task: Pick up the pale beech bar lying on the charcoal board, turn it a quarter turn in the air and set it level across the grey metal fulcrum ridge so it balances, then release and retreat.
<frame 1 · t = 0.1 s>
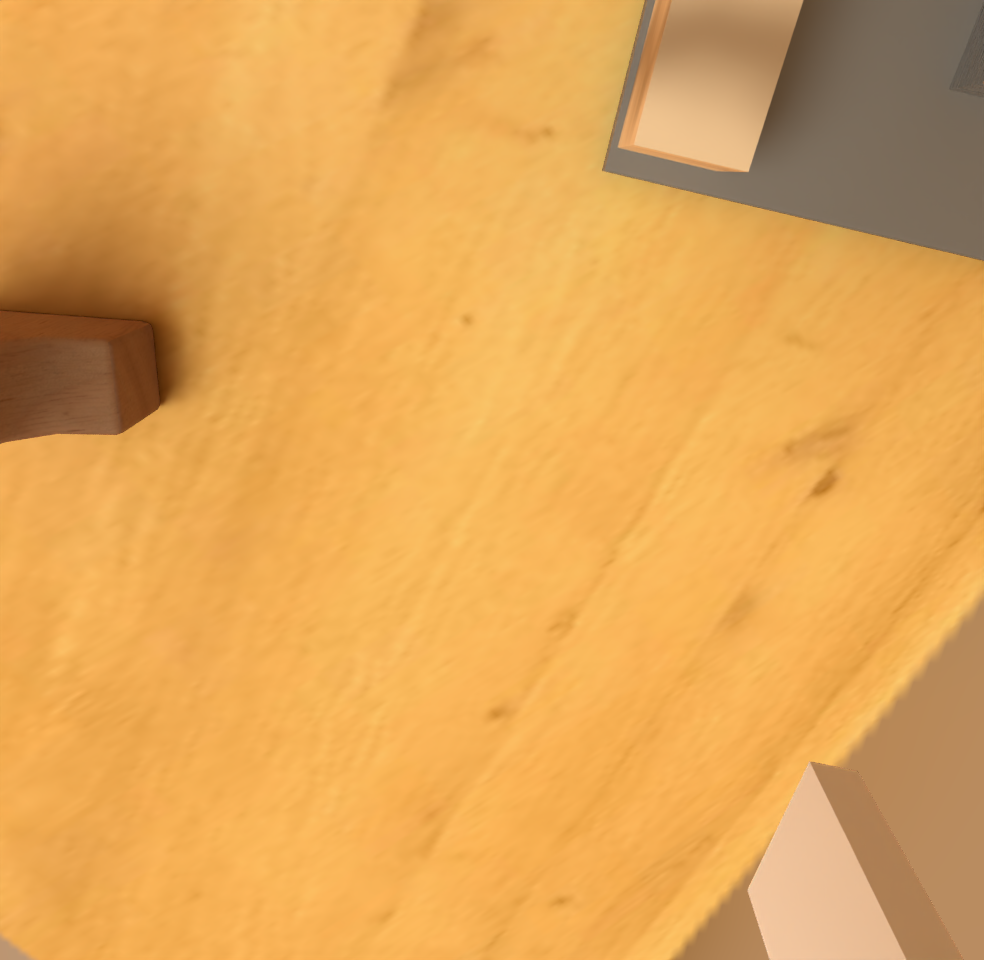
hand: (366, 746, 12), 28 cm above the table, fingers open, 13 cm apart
wooden block: (72, 357, 38), on the table
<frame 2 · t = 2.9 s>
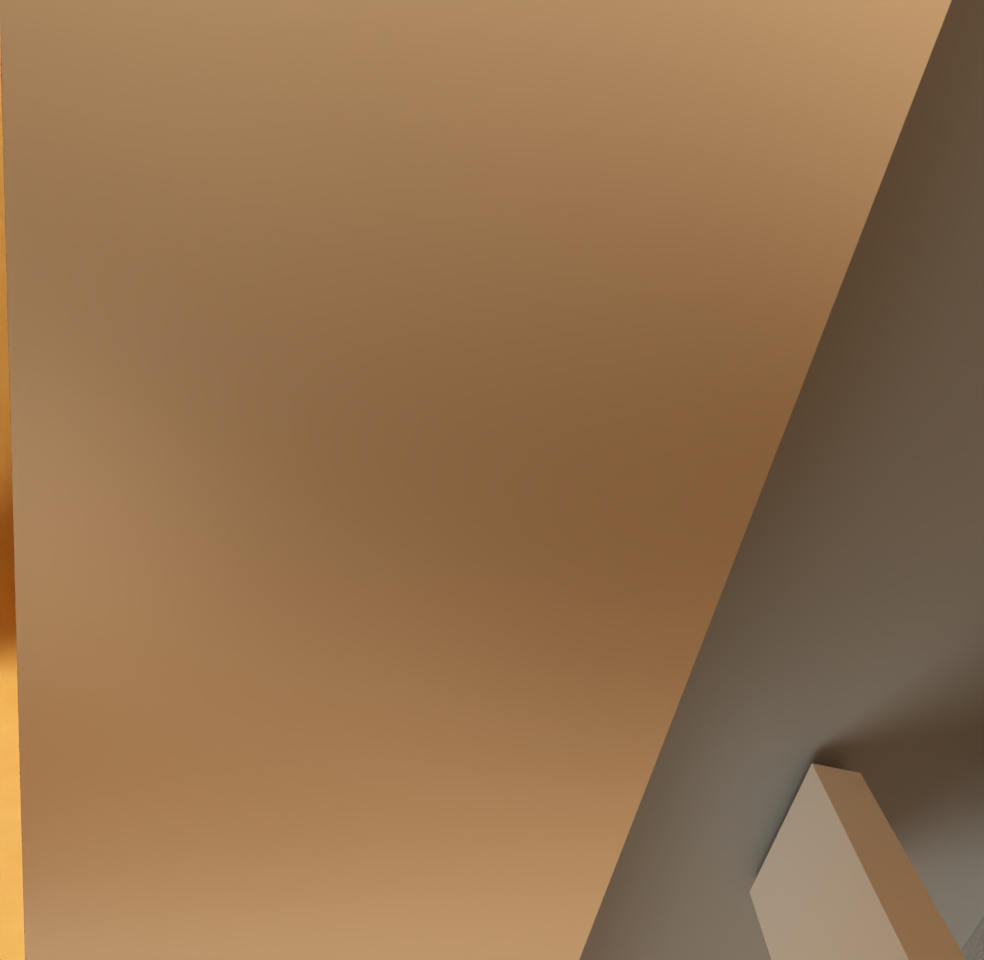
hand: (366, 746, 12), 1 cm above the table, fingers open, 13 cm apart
slate board: (790, 770, 13), on the table
beech bar: (369, 731, 12), point 1 cm above the table, touching slate board
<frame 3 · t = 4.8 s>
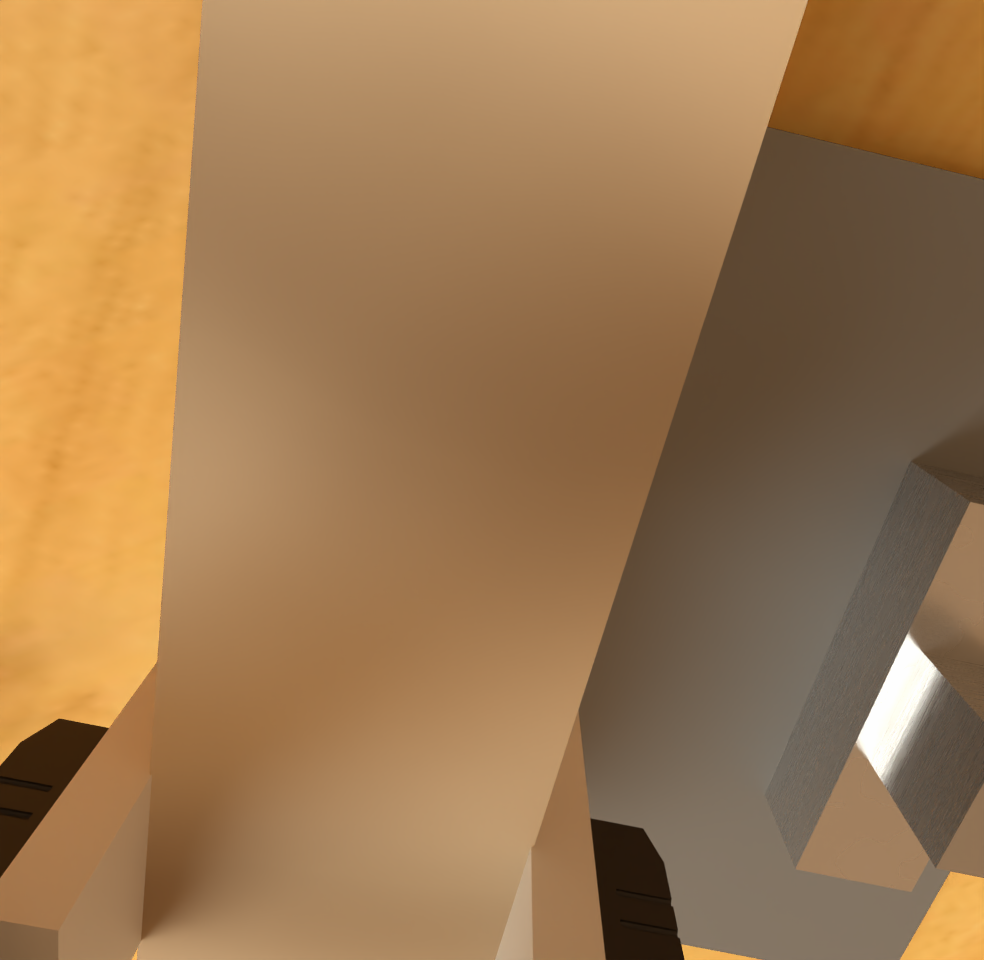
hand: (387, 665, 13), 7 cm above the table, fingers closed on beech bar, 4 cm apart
slate board: (689, 595, 20), on the table
beech bar: (390, 656, 14), point 6 cm above the table, touching gripper
fulcrum ridge: (870, 633, 21), resting on slate board
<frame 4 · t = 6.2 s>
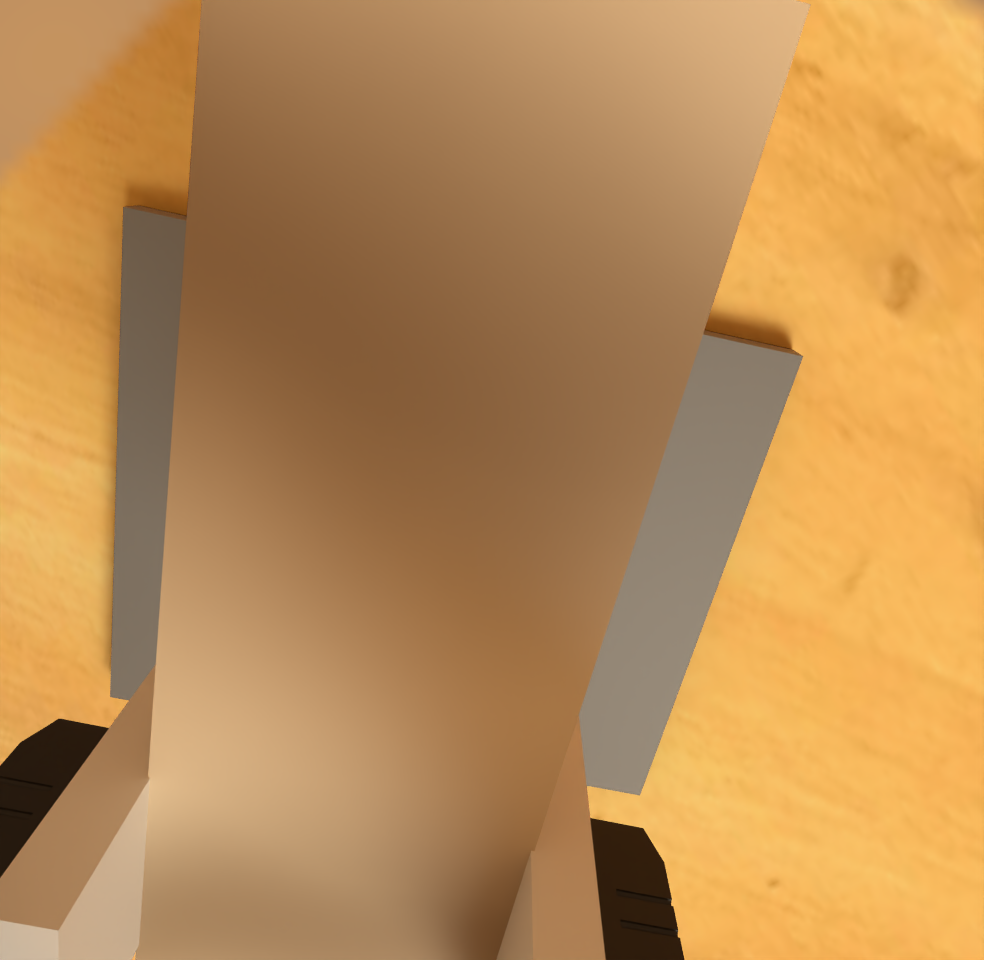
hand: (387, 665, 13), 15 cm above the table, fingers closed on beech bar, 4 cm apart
slate board: (422, 532, 29), on the table
beech bar: (389, 660, 14), point 14 cm above the table, touching gripper
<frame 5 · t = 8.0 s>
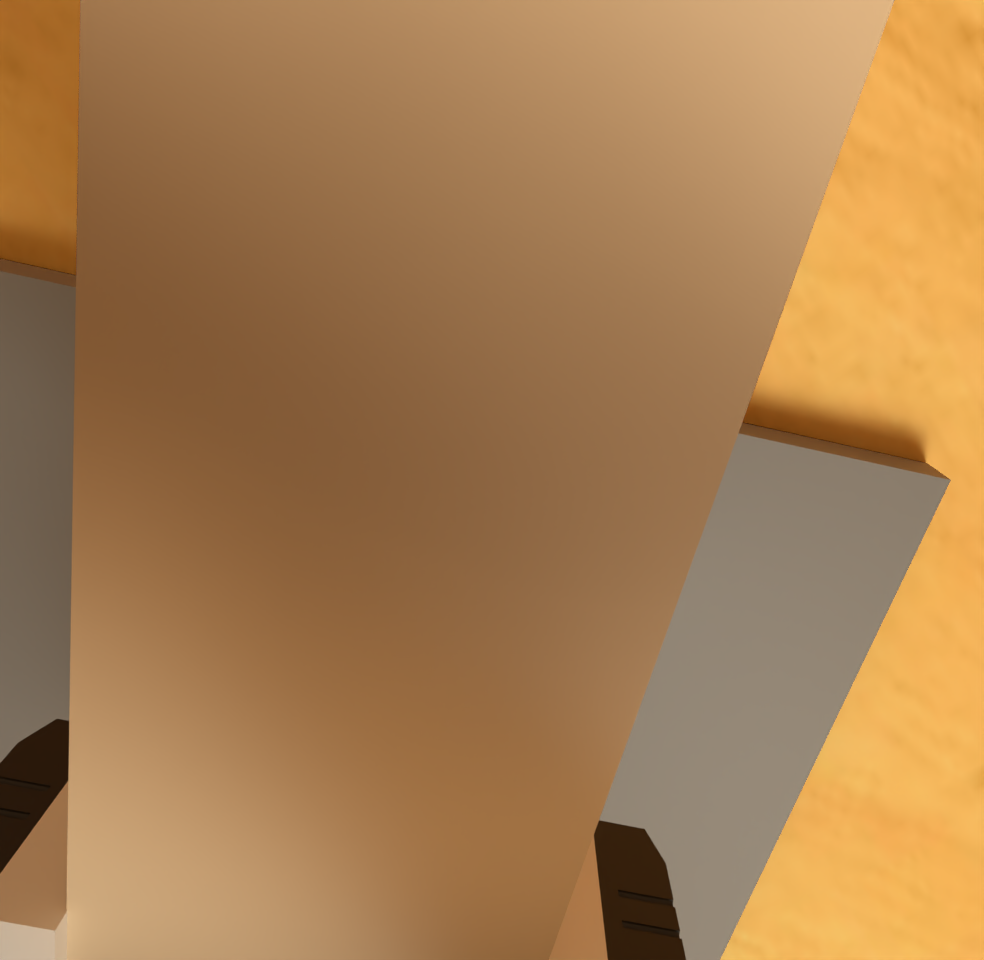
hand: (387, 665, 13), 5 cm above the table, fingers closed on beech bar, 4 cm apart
slate board: (378, 705, 20), on the table
beech bar: (372, 725, 12), point 7 cm above the table, touching fulcrum ridge, gripper
when the fingers open (5 cm above the table, at t = 8.9 s): beech bar stays where it is, resting on fulcrum ridge.
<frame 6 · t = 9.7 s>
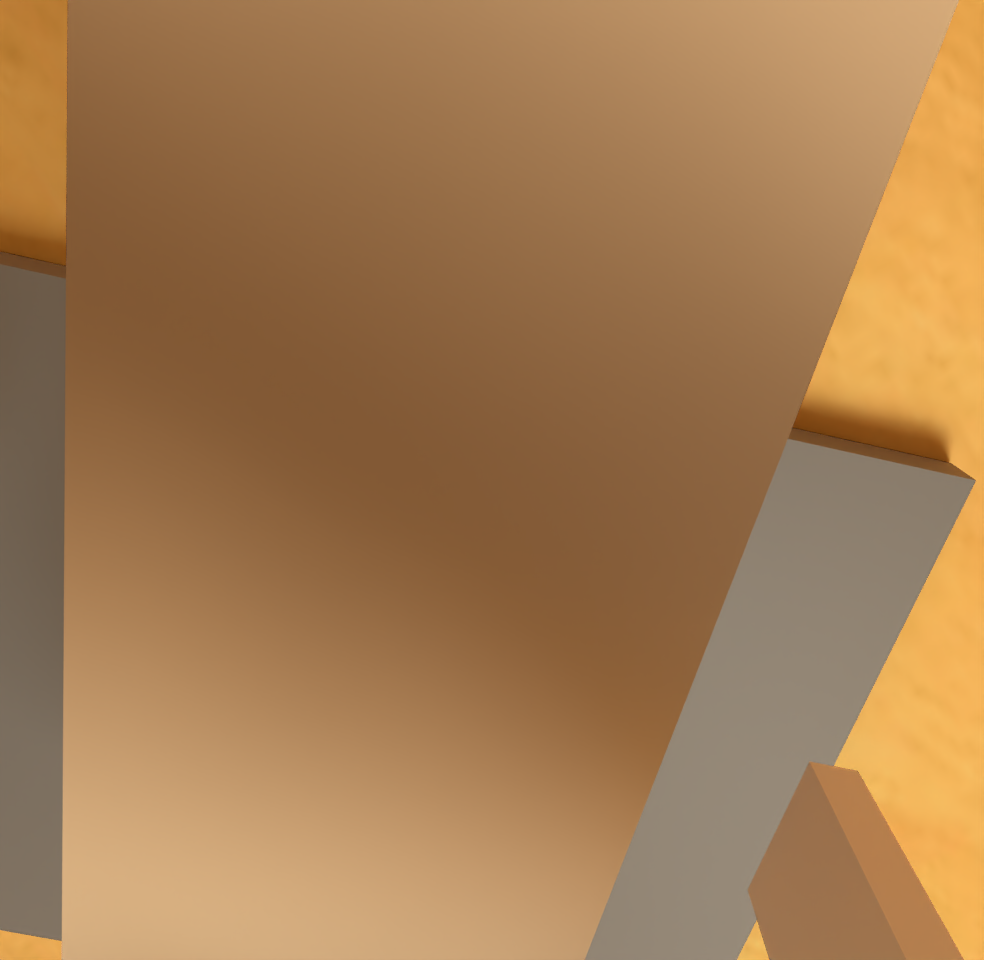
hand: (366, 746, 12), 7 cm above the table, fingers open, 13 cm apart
slate board: (385, 708, 20), on the table
beech bar: (380, 733, 12), point 6 cm above the table, touching fulcrum ridge
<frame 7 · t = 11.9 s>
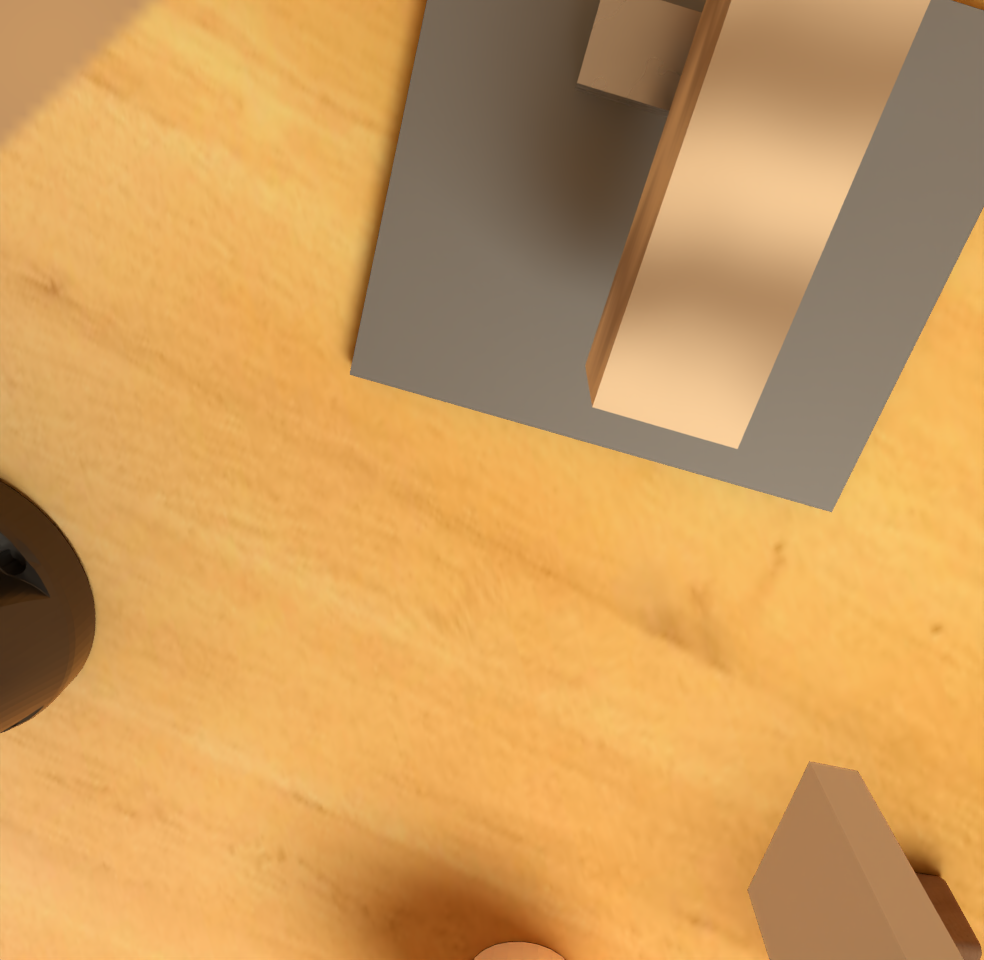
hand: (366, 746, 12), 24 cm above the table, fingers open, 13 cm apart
slate board: (666, 222, 31), on the table
beech bar: (759, 71, 23), point 6 cm above the table, touching fulcrum ridge
wooden block: (877, 921, 45), on the table
fulcrum ridge: (713, 87, 29), resting on slate board
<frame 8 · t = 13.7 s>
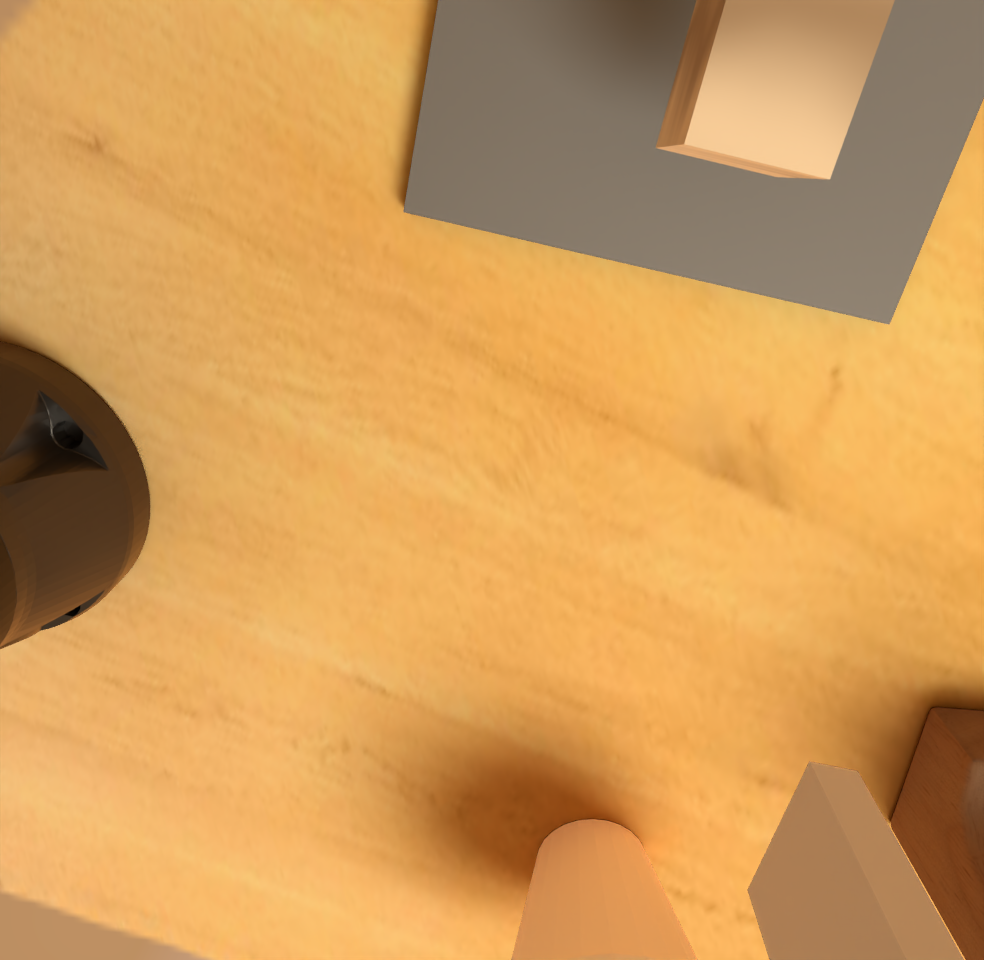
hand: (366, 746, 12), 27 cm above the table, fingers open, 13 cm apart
cup: (590, 857, 48), on the table
slate board: (715, 29, 31), on the table
wooden block: (943, 766, 45), on the table
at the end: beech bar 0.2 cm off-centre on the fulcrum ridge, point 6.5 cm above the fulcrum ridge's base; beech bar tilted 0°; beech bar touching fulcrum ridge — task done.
